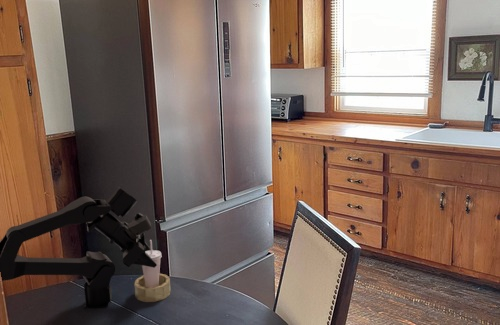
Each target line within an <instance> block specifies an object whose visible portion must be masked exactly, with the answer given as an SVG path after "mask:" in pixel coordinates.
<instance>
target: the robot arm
mask: <svg viewBox="0 0 500 325" xmlns="http://www.w3.org/2000/svg"><path fill="white" fill-rule="evenodd" d="M137 202H138V200H137V199H136V198H134V197H133V196H132V195H131V194H130V193H128V192H127V191H125V190H123V188H121V187H120V186H117V188H116V189H115V190H114V192H113V193H112V194H111V195H110V196H109V198H108V199H107V200H106V199H93V198H91V197H89V196H85V195H84V196H81V197H79V198H76V199H75V200H73V201H71V202H70V203H68V204H67V205H66V206H64V207H63V208H61V209H59V210H57V211H54V212H52V213H49V214H46V215H43V216H40V217H37V218H35V219H32V220H29V221H26V222H24V223H21V224H17V225H13V226H11V227H9V228H8V229H7V231H6V232H5V234H4V235H3V237H2V239H1V240H0V272H1V277H2V281H1V282H5V281H11V280H14V279H15V280H16V279H17V278H20V277H24V276H82V278H83V279H84V281H85V284H84V285H83V289H84V298H85V300H84V301H85V304H84V306H83V308H84V309H85V310H86V309H103V308H108V307H109V304H110V303H111V302H112V299H113V292H112V291H113V290H112V284H111V279H112V277H113V276H114V274H115V272H116V265H115V264H114V262H113V261H112V260H111V259H110V258H109V257H108V256H107V255H106V254H104V253H102V252H101V251H88V250H87V251H86V255H85V256H83V257H80V258H79V257H78V258H74V257H73V258H72V257H71V258H70V257H69V258H68V257H67V258H66V257H65V258H64V257H63V258H62V257H26V256H23V255H19V254H18V253H19V252H20V248H21V246H22V245H23V243H24V242H27V241H30V240H32V239H36V238H38V237H40V236H44V235H45V234H48V233H51V232H53V231H55V230H59V229H61V228H64V227H66V226H70V225H71V226H72V225H82V224H86V228H87V229H86V230H87V233H89V234H90V233H92V231H93V230H94V229H95V230H97V231H98V232H99V233H101V234H102V235H103V236H105V237H106V239H108V242H109V243H110V244H113V243H114V244H115V245H117V247H119V249H120V252H121V253H122V263H123V264H124V266H126V267H128V268H129V267H131V266H132V265H136V266H137V265H138V266H142V265H143V266H148V267H154V268H155V267H156V266H157V264H156V263H155V262H154V261H153V260H152V258H151V257H150V256H149V255H148V254H147V253H146V252H145V251H149V250H150V245H148V243H147V242H146V239H145V232H146V231H147V232H148V231H149V230H151V229H152V222H151V221H150V219H149V217H148V216H147V214H143V213H141V212H137V213H135V214H134V219H132V221H131V222H129V223H128V222H126V221H121V220H119V219H118V218H117V217H119V218H120V217H122V218H123V217H126V215H127V214H128V213H129V212H130V211H131V209H132V208H133V207H134V206H135V205H136V203H137ZM110 211H111V212H112V213H113V214H115V215H116V216H115V215H113V214H112V213H110Z"/></svg>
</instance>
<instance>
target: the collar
mask: <svg viewBox="0 0 500 325" xmlns="http://www.w3.org/2000/svg"><path fill="white" fill-rule="evenodd" d="M170 295H171V277H169V276H168V275H167V274H165V273H164V274H163V273H161V272H159V285H158V286H157V287H149V288H148V287H146V284H145V279H144V275H141V276H139V277H138V278H136V279H135V281H134V297H135V298H136V299H137V301H140V302H143V303H144V302H145V303H154V302H158V301H163V300H164V299H166V298H167V297H169V296H170Z"/></svg>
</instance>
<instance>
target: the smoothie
mask: <svg viewBox="0 0 500 325" xmlns="http://www.w3.org/2000/svg"><path fill="white" fill-rule="evenodd" d="M149 247H150V250H149V251H145V252H146V253H147V254H148V255H149V256H150V257H151V258H152V260H153V261H154V262H155V263H156V264H157V266H156V267H155V268H154V267H148V266H143V265H141V269H142V274H143V276H144V279H145V284H146V287H148V288H149V287H157V286H158V285H159V273H161V272H160V271H161V270H160V268H161V258H163V256H162V252H161V251H160V250H155V249H153V241H152V239H150V240H149Z"/></svg>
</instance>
